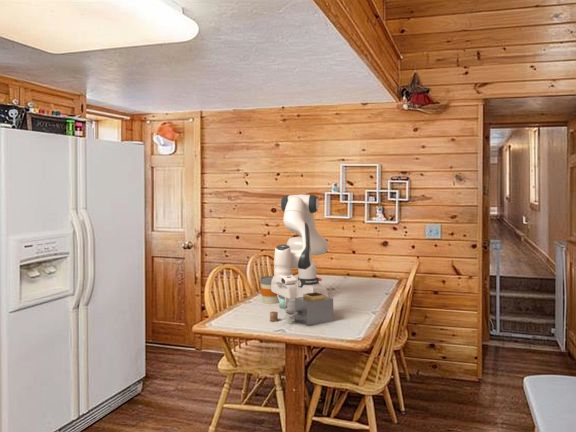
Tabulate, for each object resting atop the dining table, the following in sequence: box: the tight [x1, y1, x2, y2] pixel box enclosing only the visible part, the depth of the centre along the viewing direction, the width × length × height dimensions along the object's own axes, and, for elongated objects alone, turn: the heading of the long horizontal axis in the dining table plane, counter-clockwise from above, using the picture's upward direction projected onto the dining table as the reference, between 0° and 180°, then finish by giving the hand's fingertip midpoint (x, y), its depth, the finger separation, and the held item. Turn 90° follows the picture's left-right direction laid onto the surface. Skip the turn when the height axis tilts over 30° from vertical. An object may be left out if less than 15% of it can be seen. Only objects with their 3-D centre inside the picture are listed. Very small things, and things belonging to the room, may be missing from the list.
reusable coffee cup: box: [259, 275, 279, 305], centre depth 312 cm, size 13×13×15 cm
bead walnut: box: [269, 311, 279, 323], centre depth 272 cm, size 4×4×4 cm
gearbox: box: [292, 292, 334, 327], centre depth 270 cm, size 19×12×14 cm, turn 120°
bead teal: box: [278, 297, 287, 310], centre depth 263 cm, size 4×4×4 cm
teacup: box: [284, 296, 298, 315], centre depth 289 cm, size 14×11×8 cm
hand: (283, 304), depth 263 cm, fingers closed on bead teal, 4 cm apart
